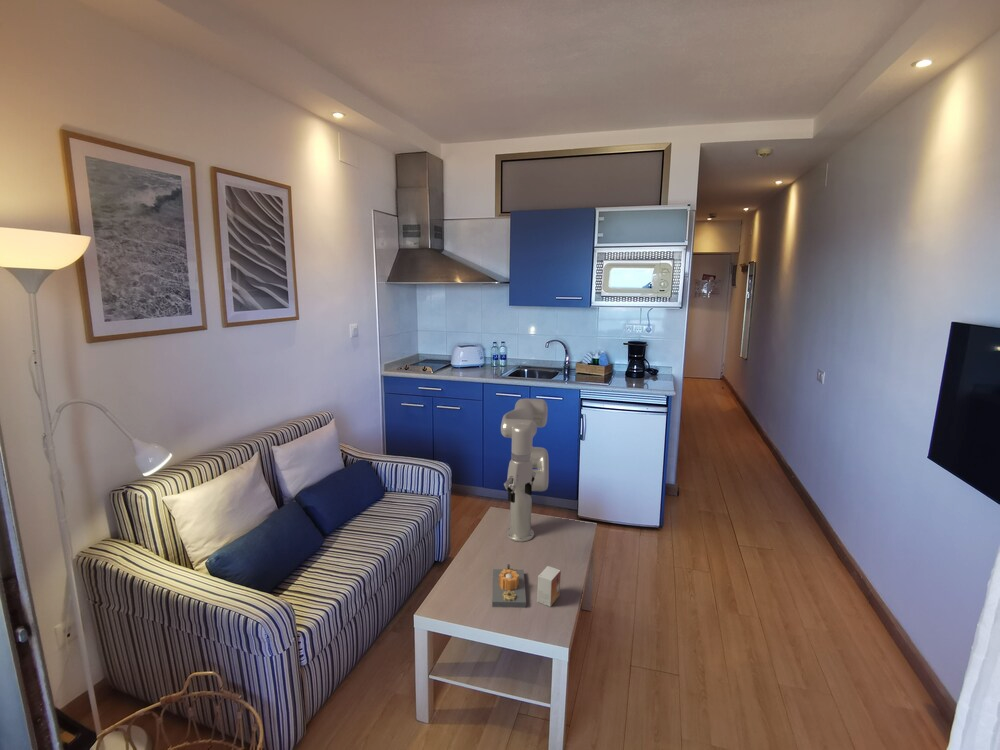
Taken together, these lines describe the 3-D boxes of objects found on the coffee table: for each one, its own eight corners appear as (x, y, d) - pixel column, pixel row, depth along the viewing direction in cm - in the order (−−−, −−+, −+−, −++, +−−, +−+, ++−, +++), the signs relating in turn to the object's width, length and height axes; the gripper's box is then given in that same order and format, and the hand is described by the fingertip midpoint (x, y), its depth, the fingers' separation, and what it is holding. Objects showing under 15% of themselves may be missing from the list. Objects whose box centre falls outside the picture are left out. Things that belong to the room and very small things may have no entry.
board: (493, 573, 194) (493, 559, 193) (523, 574, 194) (523, 560, 193) (492, 606, 175) (492, 591, 173) (525, 607, 175) (526, 592, 173)
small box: (550, 607, 175) (551, 581, 173) (536, 602, 178) (537, 575, 176) (560, 595, 182) (561, 570, 179) (546, 590, 184) (547, 565, 182)
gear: (495, 584, 184) (495, 574, 183) (508, 576, 189) (508, 567, 188) (509, 593, 179) (509, 583, 178) (522, 584, 184) (522, 575, 183)
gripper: (528, 448, 198) (527, 488, 201) (498, 459, 186) (497, 501, 189) (542, 453, 193) (541, 494, 196) (512, 464, 181) (511, 507, 184)
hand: (519, 497), depth 193 cm, fingers open, 9 cm apart
